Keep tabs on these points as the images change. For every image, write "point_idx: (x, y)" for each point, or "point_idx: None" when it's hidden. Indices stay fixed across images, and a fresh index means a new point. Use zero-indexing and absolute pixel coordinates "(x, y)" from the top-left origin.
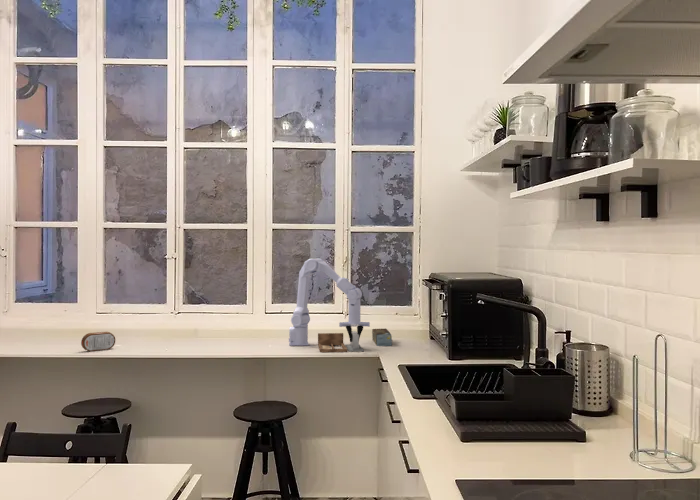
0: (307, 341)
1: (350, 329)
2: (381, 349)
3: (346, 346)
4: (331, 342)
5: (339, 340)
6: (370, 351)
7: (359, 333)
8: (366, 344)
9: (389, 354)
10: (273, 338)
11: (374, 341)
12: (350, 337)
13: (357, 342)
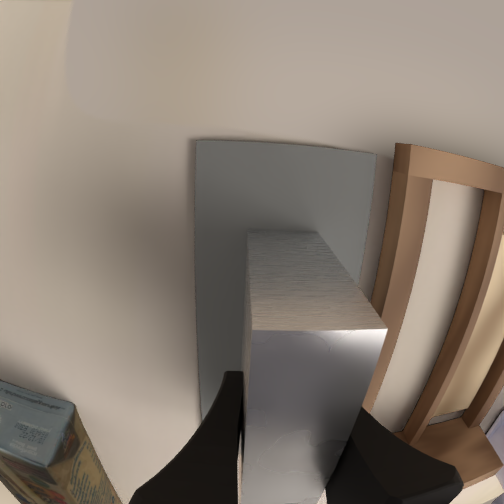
0: (498, 439)
1: (404, 480)
2: (24, 251)
3: None
4: (413, 446)
5: None
6: (123, 141)
7: (213, 444)
8: (151, 455)
9: (11, 4)
10: (492, 488)
11: (102, 475)
12: None
13: (268, 261)
